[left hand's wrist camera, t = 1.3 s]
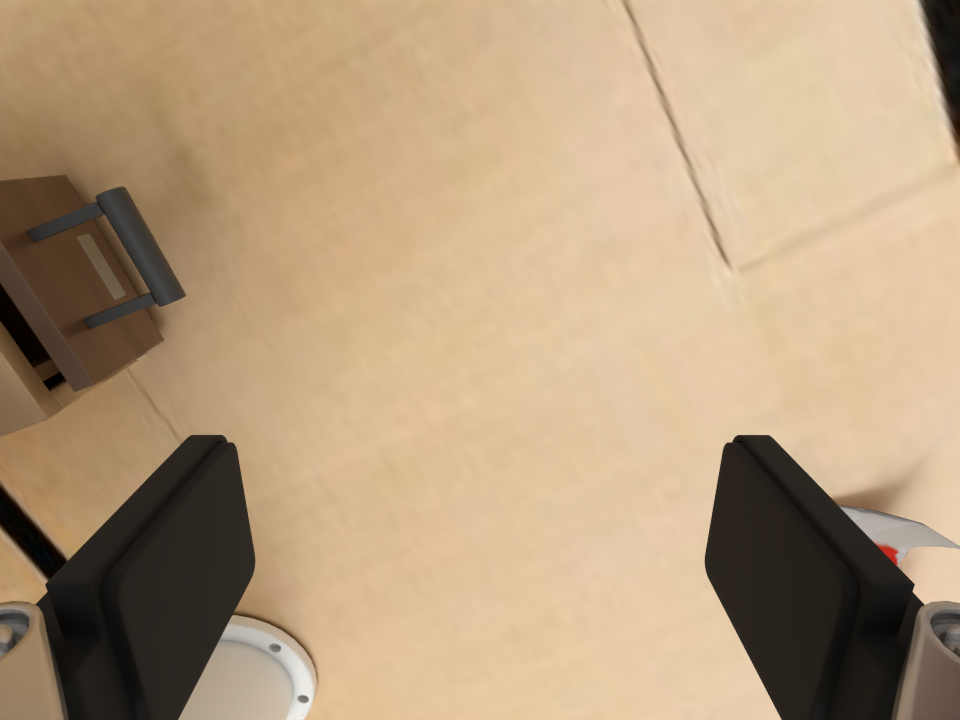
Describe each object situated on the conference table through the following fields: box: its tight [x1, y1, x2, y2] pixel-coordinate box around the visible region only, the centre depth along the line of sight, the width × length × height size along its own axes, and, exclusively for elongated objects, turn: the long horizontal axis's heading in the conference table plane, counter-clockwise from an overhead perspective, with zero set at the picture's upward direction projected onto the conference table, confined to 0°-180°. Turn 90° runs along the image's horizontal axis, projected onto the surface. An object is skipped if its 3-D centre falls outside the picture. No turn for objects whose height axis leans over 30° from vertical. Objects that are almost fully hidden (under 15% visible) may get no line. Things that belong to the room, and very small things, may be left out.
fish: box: [838, 505, 960, 566], centre depth 39 cm, size 11×16×10 cm
